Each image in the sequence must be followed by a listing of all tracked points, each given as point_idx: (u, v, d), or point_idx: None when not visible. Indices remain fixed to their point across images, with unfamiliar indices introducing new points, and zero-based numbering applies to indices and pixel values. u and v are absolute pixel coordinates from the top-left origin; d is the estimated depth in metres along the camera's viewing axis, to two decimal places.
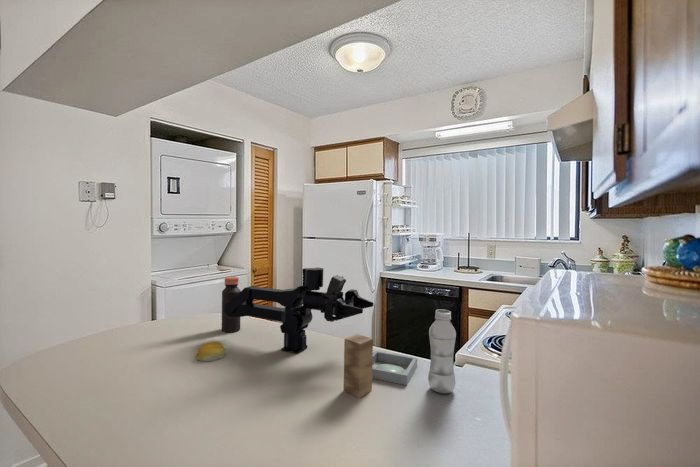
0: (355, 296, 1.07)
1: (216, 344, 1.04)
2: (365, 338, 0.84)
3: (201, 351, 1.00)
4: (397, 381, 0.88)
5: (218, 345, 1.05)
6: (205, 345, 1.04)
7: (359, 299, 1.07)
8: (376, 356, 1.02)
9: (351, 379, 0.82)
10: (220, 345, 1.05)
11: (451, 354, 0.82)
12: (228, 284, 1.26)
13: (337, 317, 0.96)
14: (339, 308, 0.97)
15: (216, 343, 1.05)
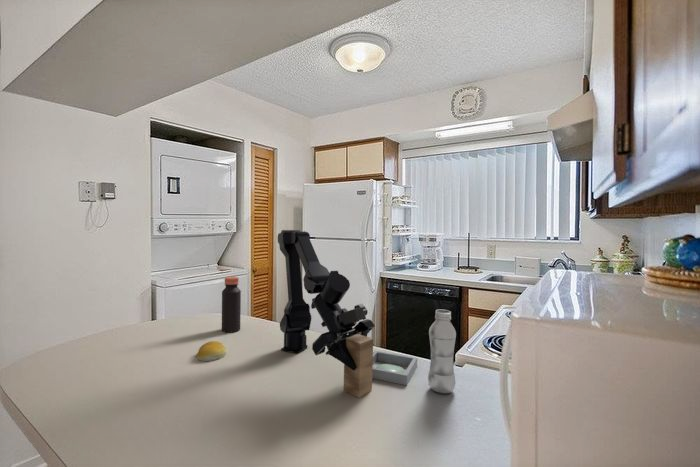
0: None
1: (216, 344, 1.05)
2: (365, 338, 0.84)
3: (202, 351, 1.00)
4: (397, 381, 0.88)
5: (219, 345, 1.05)
6: (206, 345, 1.04)
7: None
8: (376, 356, 1.02)
9: (351, 379, 0.82)
10: (221, 345, 1.06)
11: (451, 354, 0.82)
12: (228, 284, 1.26)
13: (328, 353, 0.82)
14: (337, 347, 0.82)
15: (217, 343, 1.05)
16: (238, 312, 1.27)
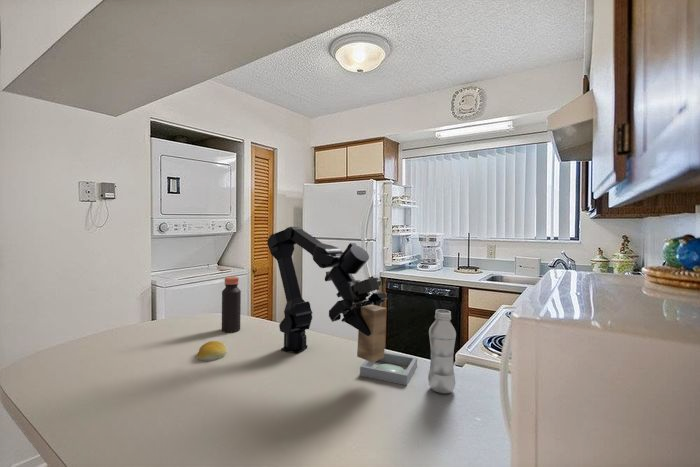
0: None
1: (217, 344, 1.05)
2: (379, 307, 0.88)
3: (202, 350, 1.01)
4: (397, 381, 0.88)
5: (219, 345, 1.05)
6: (206, 344, 1.04)
7: None
8: None
9: (365, 345, 0.86)
10: (221, 344, 1.06)
11: (451, 354, 0.82)
12: (228, 284, 1.26)
13: (344, 320, 0.87)
14: (352, 314, 0.87)
15: (217, 342, 1.06)
16: (238, 312, 1.27)
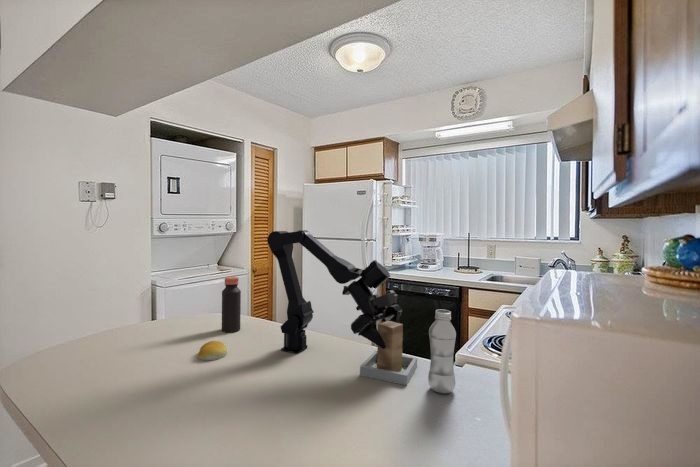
0: (395, 318, 1.00)
1: (217, 344, 1.05)
2: (396, 323, 0.96)
3: (203, 350, 1.01)
4: (397, 381, 0.88)
5: (220, 344, 1.05)
6: (207, 344, 1.04)
7: None
8: (376, 356, 1.02)
9: (384, 359, 0.94)
10: (222, 344, 1.06)
11: (451, 354, 0.82)
12: (228, 284, 1.26)
13: (361, 333, 0.93)
14: (368, 328, 0.92)
15: (218, 342, 1.06)
16: (238, 312, 1.27)
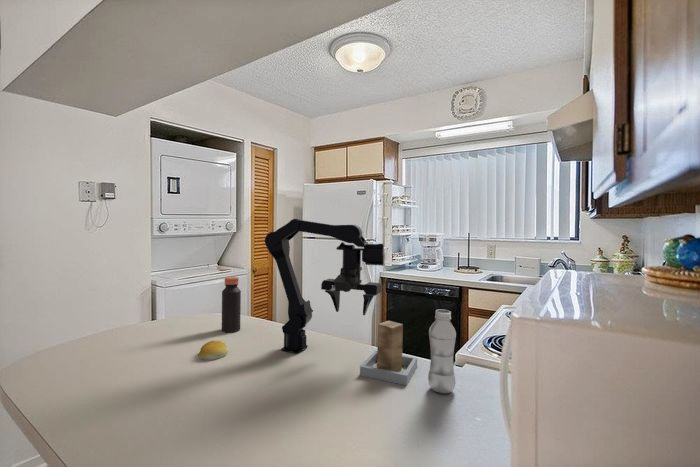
0: None
1: (218, 343, 1.06)
2: (396, 323, 0.96)
3: (204, 350, 1.01)
4: (397, 381, 0.88)
5: (220, 344, 1.06)
6: (208, 344, 1.05)
7: None
8: (376, 356, 1.02)
9: (384, 359, 0.94)
10: (222, 344, 1.06)
11: (451, 354, 0.82)
12: (228, 284, 1.26)
13: None
14: None
15: (218, 342, 1.06)
16: (238, 312, 1.27)
